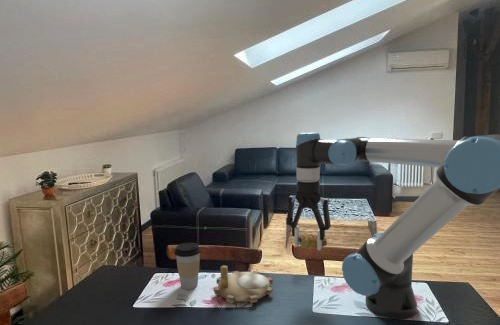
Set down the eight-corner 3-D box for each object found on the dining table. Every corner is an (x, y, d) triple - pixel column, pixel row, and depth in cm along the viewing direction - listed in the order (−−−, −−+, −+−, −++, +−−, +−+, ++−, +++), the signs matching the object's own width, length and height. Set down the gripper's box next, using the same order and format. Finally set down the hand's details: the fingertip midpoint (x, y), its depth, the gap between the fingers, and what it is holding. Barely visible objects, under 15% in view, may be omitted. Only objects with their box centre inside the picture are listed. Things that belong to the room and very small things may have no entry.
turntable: (260, 270, 136) (260, 249, 135) (283, 296, 116) (283, 271, 115) (208, 280, 129) (207, 257, 128) (222, 309, 109) (222, 282, 108)
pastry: (324, 241, 123) (324, 231, 123) (329, 248, 116) (329, 237, 116) (297, 242, 123) (297, 232, 122) (301, 250, 116) (301, 238, 116)
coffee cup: (196, 293, 122) (195, 252, 120) (171, 291, 124) (169, 250, 122) (205, 280, 131) (204, 242, 129) (182, 279, 133) (180, 241, 131)
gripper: (341, 179, 113) (340, 247, 116) (283, 176, 122) (284, 239, 125) (336, 183, 106) (335, 255, 109) (275, 180, 116) (276, 246, 118)
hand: (308, 247), depth 117 cm, fingers closed on pastry, 7 cm apart
